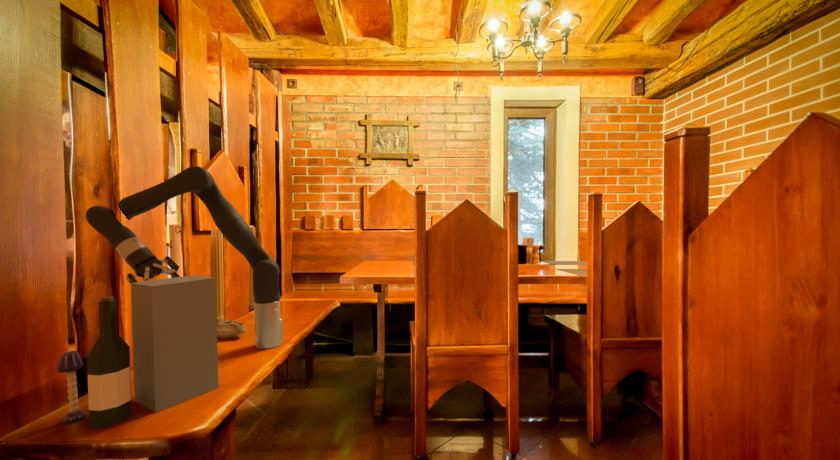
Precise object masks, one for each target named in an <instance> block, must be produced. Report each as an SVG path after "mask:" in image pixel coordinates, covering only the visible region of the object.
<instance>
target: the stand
mask: <svg viewBox="0 0 840 460" xmlns="http://www.w3.org/2000/svg"><path fill="white" fill-rule="evenodd" d="M216 282H217V281H216V277H213V276H203V275H192V274H191V275H185V276H180V277H175V278H172V277H169V278H168V277H167V278H161V279H153V280H152V279H150V280H148V281H143V280H142V281H138V282H135V283H131V284H130V295H131V296H130V297H131V298H130V299H131V301H130V303H131V331H132V359H133V360H132V362H133V363H132V364H133V365H132V366H133V388H134V389H133V390H134V391H133V393H134V402H136V403H137V404H138V405H141V406H143V407H145V408H146V409H148V410H150V411H152V412H154V413H158V412H161V411H164V410H166V409H168V408H171V407H173V406H176V405H179V404H181V403H183V401H184V402H186V401H189V400H192V399H193V398H195V397H199V396H201V395H204V394H206V393H209V392H211V391H214V390H217V389H219V363H218V362H219V361H218V360H219V359H218V358H219V357H218V336H217V318H218V317H217V291H216V290H217V288H216ZM188 399H189V400H188Z"/></svg>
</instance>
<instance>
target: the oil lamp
mask: <svg viewBox="0 0 840 460" xmlns="http://www.w3.org/2000/svg"><path fill="white" fill-rule="evenodd" d="M247 330H248V329H247V326H246V324H245V323H242V322H239V321H237V320H229V319H227V320H224V319H222V317H220V316H219V317H217V338H219V339H232V338H235V337H236V336H240V335H243V334H245V332H246V331H247Z"/></svg>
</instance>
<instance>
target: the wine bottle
mask: <svg viewBox="0 0 840 460" xmlns="http://www.w3.org/2000/svg"><path fill="white" fill-rule="evenodd" d="M114 297H115V296H114V295H113V296H103V297H101V298H100V300H99V301H98V323H99V324H98V325H99V327H98V331H99V337H98V338H97V340H96V342H95V343H94V345H93V346H92V348H91V350H90V351H89V353H88V355H87V357H86V363H87V364H86V365H87V367H86V368H87V390H88V391H87V392H88V395H87V396H88V420H89V421H88V422H89V423H88V425H89V428H91V429H104V428H108V427H112V426H116V425H120V424H121V423H123V422H125V421H126V420H128V419H130V418H132V414H133V413H132V412H133V405H132V404H133V403H132V379H131V378H132V375H131V373H132V372H131V350H130V349H131V347H130V345H129V344H128V343H127V342H126V341H125V340H124V338H122V337H121V335H120V334H119V333H118V318H117V316H118V315H117V299H116V298H114Z"/></svg>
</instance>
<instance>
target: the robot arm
mask: <svg viewBox="0 0 840 460" xmlns="http://www.w3.org/2000/svg"><path fill="white" fill-rule="evenodd" d="M216 182H217V181H215V179H214V176H213V175H212V174H211V173H210V172H209V171H208V170H207V169H205V168H204V167H202V166H199V165H193V166H189V167H187V168H185V169H183V170H181V171H180V172H179V173H177V174H175V175H174V176H172V177H170V178H168V179H166V180H164V181H162V182H160V183H158V184H156V185H153V186H151V187H148V188H146V189H143V190H140V191H138V192H135V193H133V194H131V195H128V196H126V197H123V198H121V199H122V200H121V199H120V200H121V201H120V200H119V201H120V202H119V201H118V202H119V203H118V204H117V206H119V208H120V210H121V211H122V213H123V214H124V215H125V216H126V218H127V219H128V220H129V221H131V219H133V218H134V217H136V216H140V215H142V214H144V213H148V212H149V211H152V210H153V209H155V208H157V207H159V206H160V205H163V204H164V203H166V202H167V201H169V200H170V199H171V200H172V199H173V198H175V197H178V196H180V195H183V194H184V195H185V194H188V193H191V192H193V193H194V194H195V195H196V196H197V197H198V198H199V200H200V201H201V202H202V203H203V204H204V206H205V207H206V209H207V210H208V212H209V214H210V217H211V218H212V220H213V223H214V224H215V226H216V228H217V229H218V231H220V233H221V234H222V235H223V237H224V238H225V239H226V240H227V242H228V243H229V244H230V245H231V246H232V247H234V249H235V250H237V252H239V253H240V255H242V256H243V257H244V258H245V259H246V260H247V263H248V264H249V265H250V267H251V268H252V286H253V287H252V289H253V290H252V291H253V298H254V300H253V301H254V332H255V333H254V336H255V337H254V338H255V340H254V341H255V348H257V349H259V350H264V349H267V350H268V349H271V348H272V349H273V348H275V347H276V348H277V347H278V346H280V345H281V344H283V343H284V324H283V323H284V322H283V321H284V320H283V318H281V293H280V291H281V290H280V271H281V269H280V266H279V265H278V263H277V262H276V261H275V260H274V258H272V257H271V256H270V255H269V254H268V252H267V251H266V250H265V249H264V248H263V247H262V245H261V244H260V242H259V240H258V239H257V237H256V235H255V233H254V232H253V231H252V229H251V228H250V226H249V224H248V223H247V222H246V220H245V219H244V217H243V216H242V215H241V214H240V212H239V211H238V210H237V209H236V208H235V207H234V205H232V203H231V202H230V201H228V199H227V198H226V197H225V195H224V193H222V191H221V190H220V187H219V186H218V184H217V183H216ZM85 219H86V221H87V223H88V224H89V225H90V227H92V228H93V230H95V231H96V232H98V233H99V234H100V235H101V236H103V237H104V238H105V239H106V240H107V241H108V242H109V244H111V246H112V247H113V248H114V249H115V250H116V251H117V253H118V255H119V256H120V257H121V259H122V260H124V262H126V264H128V266H129V267H130V268H131V269H132V270H133V272H132V273H131V272H130V273H127V274H126V278H125V279H126V280H127V281H128V283H129V284H130V285H131V283H135V282H139V281H138V280H137V277H138V278H139V277H140V278H142V282H143V281H149V280H152V279H154V278H155V277H159V276H160V275H169V276H171V277H170V278H175V277H181V276H180V275H179V274H178V273H177V272H178V270H179V268H180V265H178V264H177V263H176V262H175V261H174V260H173V259H172V258H171V257H170V256H168V255H167V256H165V257H164V258H163V259H158V257H157V255H155V254H154V253H153V252H152V250H150V248H149V247H148V246H147V245H146V244H145V243H144V242H143V241H142V240H141V239H140V238H139V237H137V235H136V234H135V233H134V232H133V231H132V230H131V229H130V228H129V227H128V226H126V225H125V224H123V225H122V224H121V223H120V222H119V221H118V220H117V219H116V218H115V214H114V212H113V210H112V208H109V207H106V206H103V205H94V206H91V207H89V208H88V209H87V210H86V211H85ZM163 264H164V265H163ZM166 265H167V266H166Z"/></svg>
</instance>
